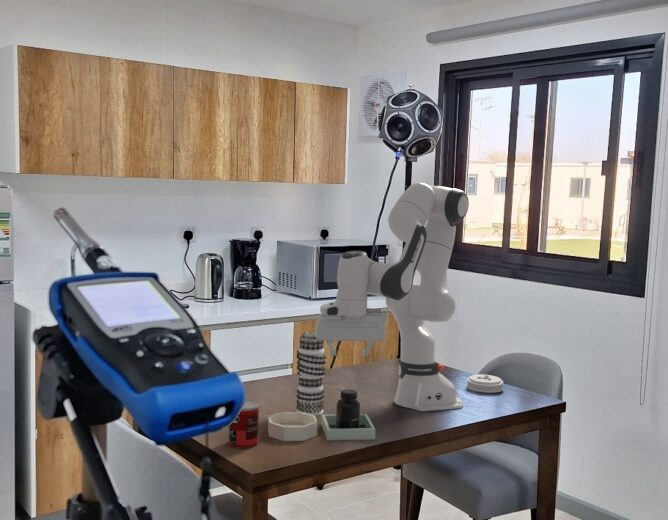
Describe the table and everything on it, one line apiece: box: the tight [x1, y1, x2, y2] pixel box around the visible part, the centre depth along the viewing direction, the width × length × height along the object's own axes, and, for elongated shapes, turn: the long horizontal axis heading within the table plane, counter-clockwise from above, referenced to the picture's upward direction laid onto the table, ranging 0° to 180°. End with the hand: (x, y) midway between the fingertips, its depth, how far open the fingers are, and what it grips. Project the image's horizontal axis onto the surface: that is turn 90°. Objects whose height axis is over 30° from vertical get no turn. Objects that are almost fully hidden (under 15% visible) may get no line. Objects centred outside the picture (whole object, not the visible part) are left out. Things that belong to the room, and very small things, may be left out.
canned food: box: [228, 400, 260, 449], centre depth 200 cm, size 8×8×11 cm
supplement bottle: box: [335, 389, 361, 429], centre depth 212 cm, size 7×7×12 cm
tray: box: [320, 413, 376, 441], centre depth 212 cm, size 14×14×3 cm
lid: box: [466, 373, 504, 393], centre depth 261 cm, size 13×13×5 cm
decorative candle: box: [295, 331, 327, 417], centre depth 229 cm, size 9×9×25 cm
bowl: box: [267, 411, 318, 442], centre depth 210 cm, size 14×14×4 cm
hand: (349, 356), depth 210 cm, fingers open, 8 cm apart
